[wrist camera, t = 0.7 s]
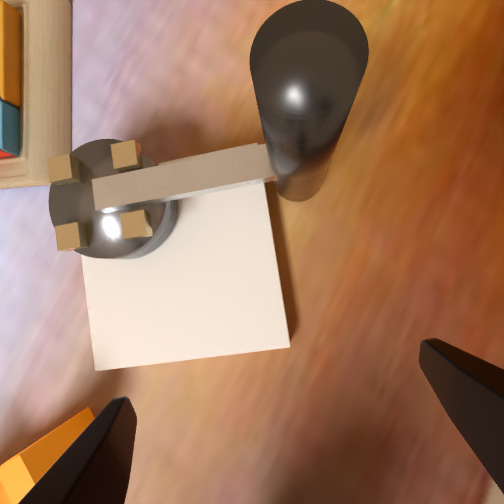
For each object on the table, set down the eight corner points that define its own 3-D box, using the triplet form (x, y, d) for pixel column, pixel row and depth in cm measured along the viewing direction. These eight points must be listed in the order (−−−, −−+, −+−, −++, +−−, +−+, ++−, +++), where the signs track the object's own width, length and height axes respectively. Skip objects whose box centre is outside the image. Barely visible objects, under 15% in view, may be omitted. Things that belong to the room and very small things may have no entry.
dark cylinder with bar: (331, 226, 22) (392, 171, 9) (92, 266, 24) (-139, 269, 11) (313, 120, 22) (344, -81, 9) (80, 169, 24) (-155, 63, 11)
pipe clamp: (4, 524, 25) (-94, 613, 19) (-20, 478, 26) (-123, 549, 19) (116, 452, 24) (53, 520, 18) (89, 405, 25) (19, 454, 18)
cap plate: (290, 341, 23) (290, 347, 21) (107, 364, 24) (95, 371, 23) (259, 150, 24) (257, 142, 22) (85, 185, 25) (72, 180, 24)
